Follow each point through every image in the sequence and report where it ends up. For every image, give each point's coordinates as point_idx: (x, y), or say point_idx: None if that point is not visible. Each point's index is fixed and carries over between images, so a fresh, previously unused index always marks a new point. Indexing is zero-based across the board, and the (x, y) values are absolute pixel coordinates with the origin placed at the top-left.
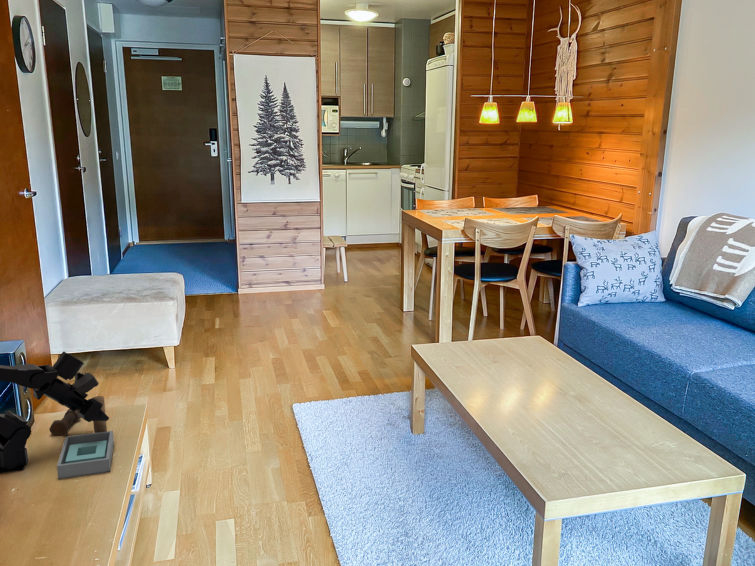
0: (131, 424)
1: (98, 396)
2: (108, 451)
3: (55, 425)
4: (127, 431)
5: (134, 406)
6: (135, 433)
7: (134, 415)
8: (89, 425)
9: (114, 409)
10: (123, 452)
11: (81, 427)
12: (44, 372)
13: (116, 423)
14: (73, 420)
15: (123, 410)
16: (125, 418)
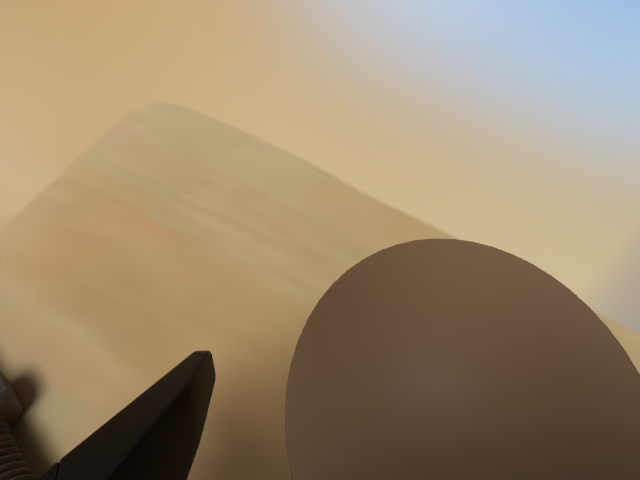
0: (314, 196)
1: (339, 323)
2: None
3: None
4: (377, 241)
5: (148, 115)
6: (425, 224)
7: (233, 150)
8: (142, 361)
9: (90, 181)
10: None
11: None
12: None
13: (246, 240)
14: (14, 453)
15: (140, 159)
16: (229, 188)
